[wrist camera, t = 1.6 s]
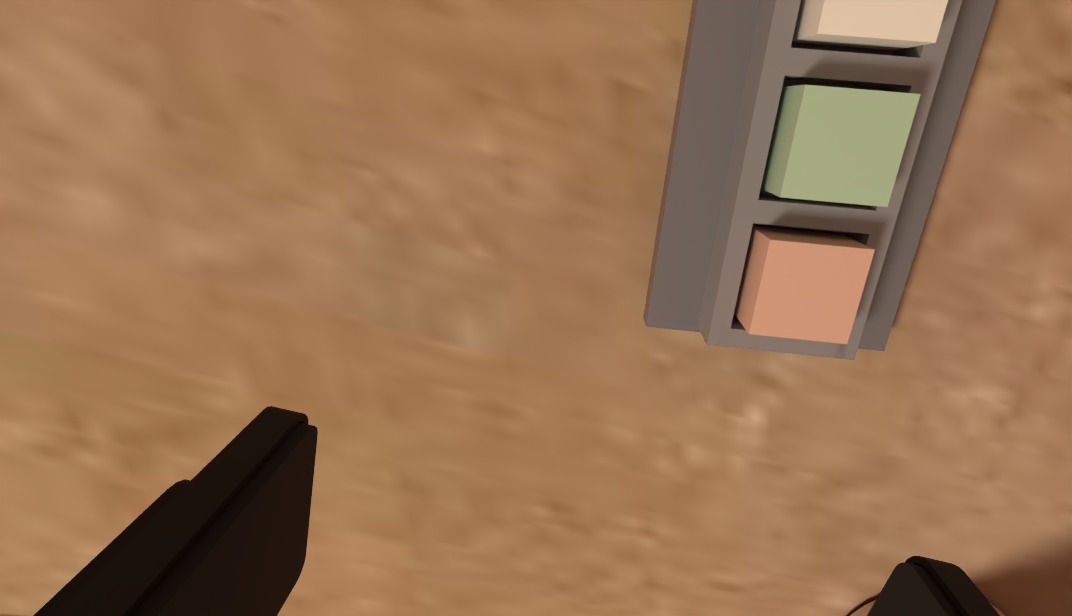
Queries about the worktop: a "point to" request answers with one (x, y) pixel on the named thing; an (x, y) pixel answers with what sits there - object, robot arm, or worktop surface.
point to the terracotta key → (802, 284)
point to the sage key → (838, 144)
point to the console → (741, 153)
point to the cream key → (869, 23)
